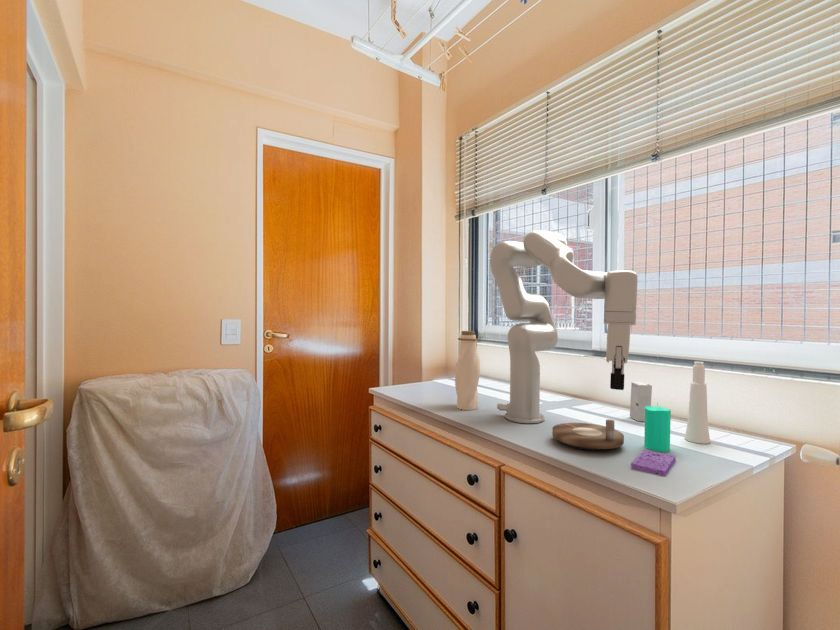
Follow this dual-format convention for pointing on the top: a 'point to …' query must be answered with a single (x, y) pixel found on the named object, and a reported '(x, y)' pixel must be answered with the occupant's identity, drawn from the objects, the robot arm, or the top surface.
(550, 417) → the top surface
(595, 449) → the turntable base
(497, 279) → the robot arm
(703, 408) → the cosmetic bottle
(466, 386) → the water bottle
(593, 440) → the turntable
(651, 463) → the sponges
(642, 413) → the skincare box
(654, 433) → the candle
